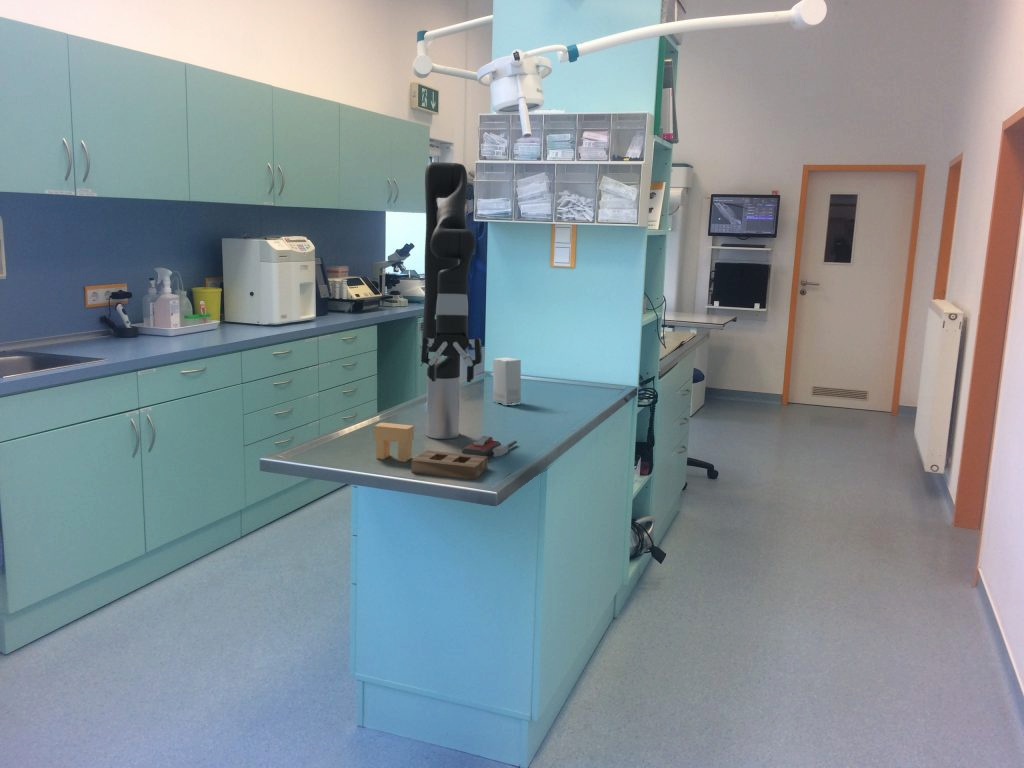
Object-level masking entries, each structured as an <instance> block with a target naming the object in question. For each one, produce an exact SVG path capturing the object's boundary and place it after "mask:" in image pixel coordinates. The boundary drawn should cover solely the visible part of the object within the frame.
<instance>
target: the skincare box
mask: <svg viewBox="0 0 1024 768" xmlns="http://www.w3.org/2000/svg"><path fill="white" fill-rule="evenodd" d="M521 363H522V360H521V359H518V358H513V357H508V356H507V357H499V358H493V359H492V377H493V378H492V380H493V381H492V382H493V383H492V386H493V389H492V391H493V393H492V395H493V398H492V399H493V400H494V401H497V402H500V403H503V404H512V403H519V402H521V401H522V400H521V399H522V398H521V397H522V396H521V395H522V393H521V391H522V389H521V385H522V384H521V383H522V382H521V381H522V378H521V376H522V375H521V374H522V371H521V369H522V366H521V365H522V364H521ZM521 403H522V402H521Z"/></svg>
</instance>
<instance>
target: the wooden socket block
mask: <svg viewBox="0 0 1024 768" xmlns="http://www.w3.org/2000/svg"><path fill="white" fill-rule="evenodd" d="M488 459H489V458H488V457H487V456H477V455H468V454H462V453H457V452H448V451H440V450H439V451H438V450H425V451H423V452H422V453H420V454H419V455H418V456H416V457H414V458H412V459H411V473H413V474H414V473H416V474H423V475H431V476H440V477H441V476H442V477H450V478H456V479H457V478H458V479H459V478H460V479H467V480H476V479H477V478H479V477H480V476H481V475H482V474H483V473H484V472H485V471H486V470H487V469H488V467H489V460H488Z"/></svg>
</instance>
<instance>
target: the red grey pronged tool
mask: <svg viewBox="0 0 1024 768" xmlns="http://www.w3.org/2000/svg"><path fill="white" fill-rule="evenodd" d="M501 443H502V442H500V441H498V440H494V439H493V436H486V435H484V436H482V437H479V438H478V439H477V440H476V441H474V442H472V443H471V444H469V445H467V446H465V447H463V448H462V449H461V454H468V455H477V456H487V457H488V459H490V458H493V457H501V456H503V455H505V454H507V453H508V452H509V449H510V448H512V447H514V445H516V444H517V443H518V441H517V440H514V441H512V442H510V443H508V444H501Z"/></svg>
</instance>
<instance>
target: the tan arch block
mask: <svg viewBox="0 0 1024 768" xmlns="http://www.w3.org/2000/svg"><path fill="white" fill-rule="evenodd" d="M414 426H415V425H411V424H399V423H390V422H389V423H388V422H379V423H377V424H375V425H374V426H373V428H374V432H373V433H374V437H373V438H374V439H373V440H375V447H376V449H375V455H376V456H375V458H376V460H385V459H386V458H388V457H390V456H391V442H396V443H397V461H398V462H404V463H406V462H407V461H409V460H412V459H413V456H412V455H413V454H412V451H413V449H412V447H413V440H414V439H415V436H414V435H415V434H414V433H415V430H414V429H415V428H414Z"/></svg>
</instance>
